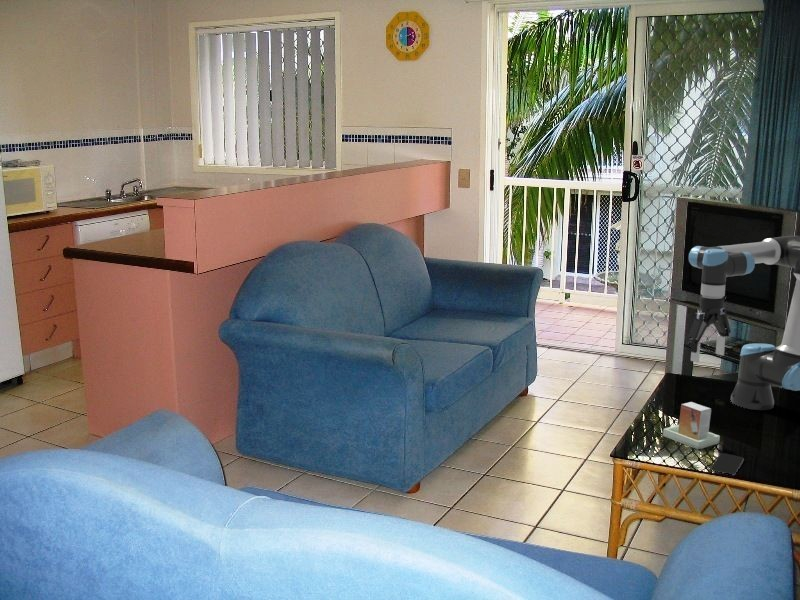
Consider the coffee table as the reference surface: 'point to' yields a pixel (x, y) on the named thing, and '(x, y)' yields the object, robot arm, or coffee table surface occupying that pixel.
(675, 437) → the tray
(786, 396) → the coffee table surface
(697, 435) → the small box
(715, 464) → the smartphone
